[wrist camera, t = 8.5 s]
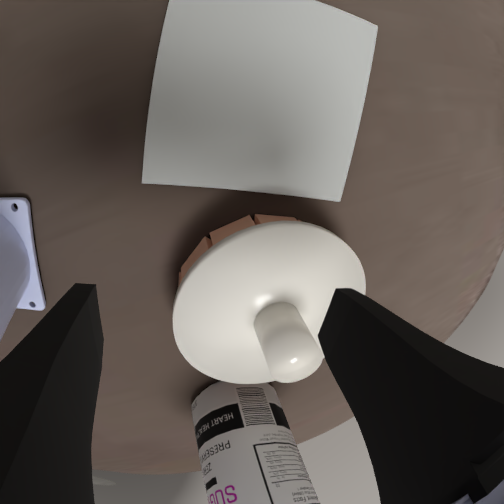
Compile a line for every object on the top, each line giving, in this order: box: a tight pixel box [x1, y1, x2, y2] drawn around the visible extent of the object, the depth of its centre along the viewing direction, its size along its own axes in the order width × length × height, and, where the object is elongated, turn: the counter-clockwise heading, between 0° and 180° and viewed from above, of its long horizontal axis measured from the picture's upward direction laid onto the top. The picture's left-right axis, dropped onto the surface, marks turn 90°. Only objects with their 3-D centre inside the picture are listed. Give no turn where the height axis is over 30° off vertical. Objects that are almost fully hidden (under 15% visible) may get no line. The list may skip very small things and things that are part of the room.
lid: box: [172, 221, 366, 384], centre depth 17 cm, size 12×12×4 cm
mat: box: [142, 0, 378, 202], centre depth 15 cm, size 12×12×1 cm
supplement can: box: [192, 381, 320, 504], centre depth 21 cm, size 8×8×15 cm
